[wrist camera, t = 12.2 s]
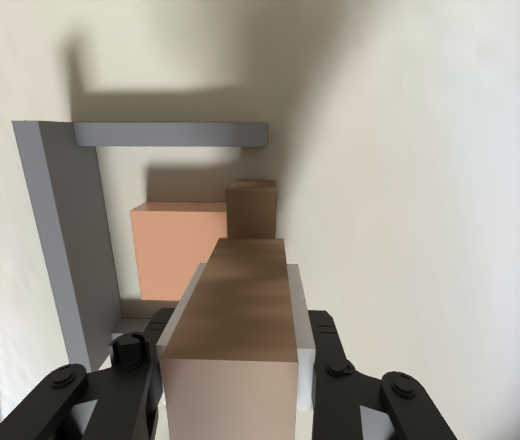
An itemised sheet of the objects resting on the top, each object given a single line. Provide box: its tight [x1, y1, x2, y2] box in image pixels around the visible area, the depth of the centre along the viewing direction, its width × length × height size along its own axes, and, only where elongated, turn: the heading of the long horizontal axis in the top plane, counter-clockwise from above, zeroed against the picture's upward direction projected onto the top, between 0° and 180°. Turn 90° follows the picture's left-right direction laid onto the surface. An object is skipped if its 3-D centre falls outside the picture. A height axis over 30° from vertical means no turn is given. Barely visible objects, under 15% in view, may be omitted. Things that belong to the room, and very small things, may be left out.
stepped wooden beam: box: [160, 180, 299, 440], centre depth 15 cm, size 4×10×14 cm, turn 0°
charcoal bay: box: [12, 121, 267, 373], centre depth 21 cm, size 14×18×5 cm
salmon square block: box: [130, 202, 227, 301], centre depth 22 cm, size 7×7×3 cm
